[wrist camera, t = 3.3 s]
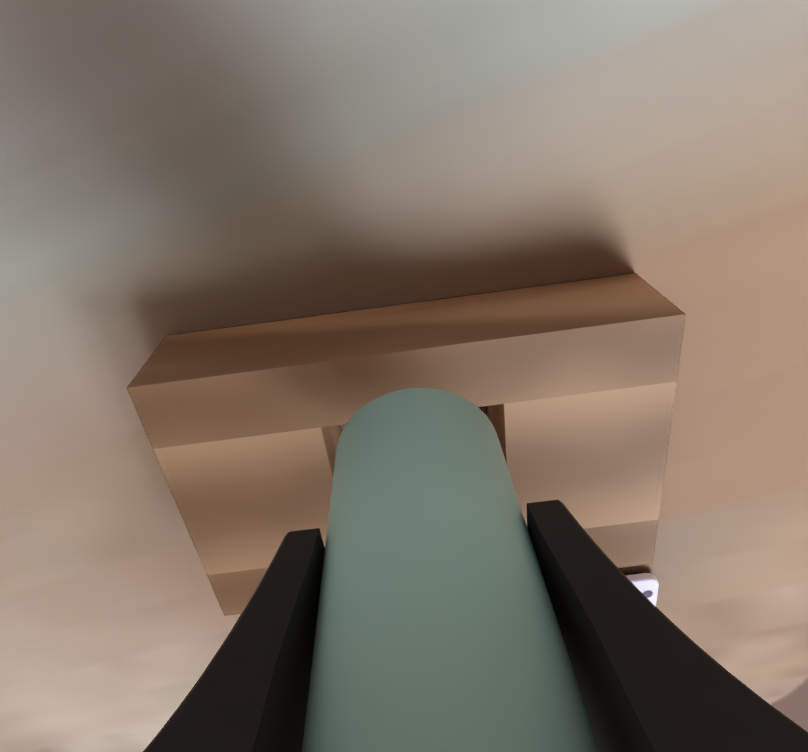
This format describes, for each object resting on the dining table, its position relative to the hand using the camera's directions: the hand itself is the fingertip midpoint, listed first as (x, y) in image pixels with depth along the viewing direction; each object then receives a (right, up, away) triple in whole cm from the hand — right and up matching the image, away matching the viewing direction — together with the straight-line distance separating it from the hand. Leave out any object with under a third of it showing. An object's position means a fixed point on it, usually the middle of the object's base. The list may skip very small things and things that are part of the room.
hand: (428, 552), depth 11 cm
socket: (0, +2, +10) cm, 10 cm away
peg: (0, +1, +2) cm, 3 cm away
